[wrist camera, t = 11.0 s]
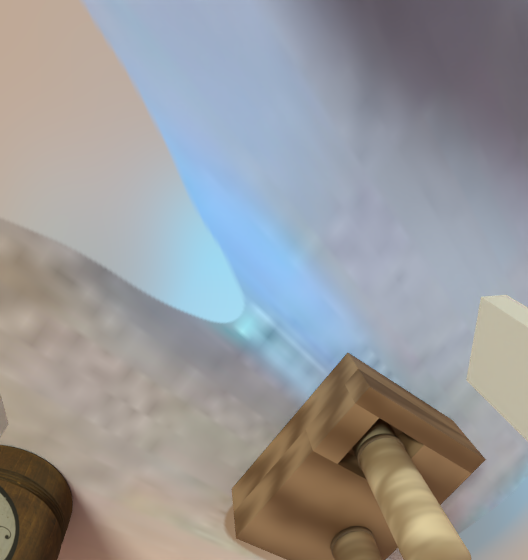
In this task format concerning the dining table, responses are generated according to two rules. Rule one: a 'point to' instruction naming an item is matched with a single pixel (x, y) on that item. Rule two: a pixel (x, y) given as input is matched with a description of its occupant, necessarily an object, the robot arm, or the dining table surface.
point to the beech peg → (406, 498)
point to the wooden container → (31, 506)
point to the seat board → (343, 469)
